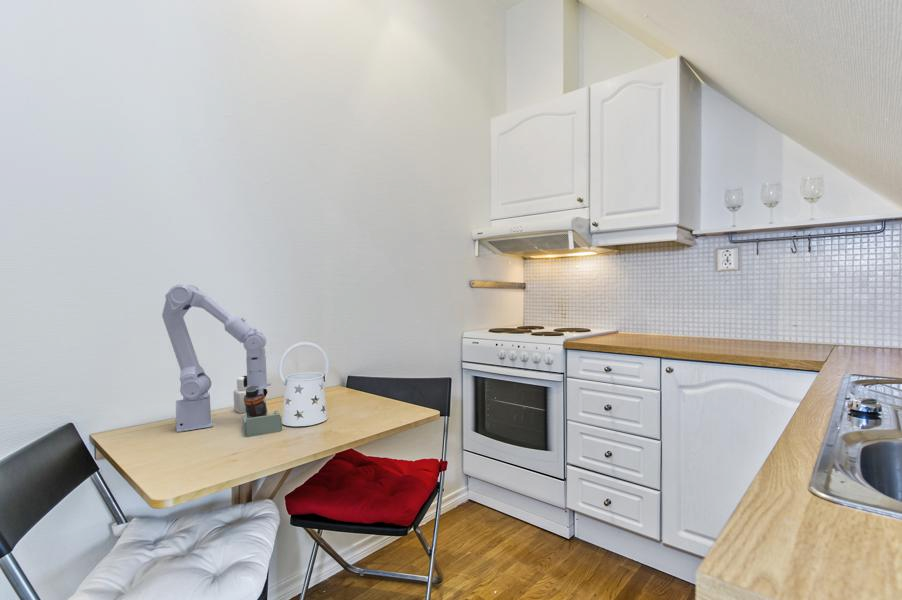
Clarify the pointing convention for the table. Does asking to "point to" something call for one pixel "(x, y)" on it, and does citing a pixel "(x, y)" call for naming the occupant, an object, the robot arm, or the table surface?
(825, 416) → the table surface
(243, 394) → the medicine bottle
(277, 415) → the holder
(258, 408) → the supplement bottle
